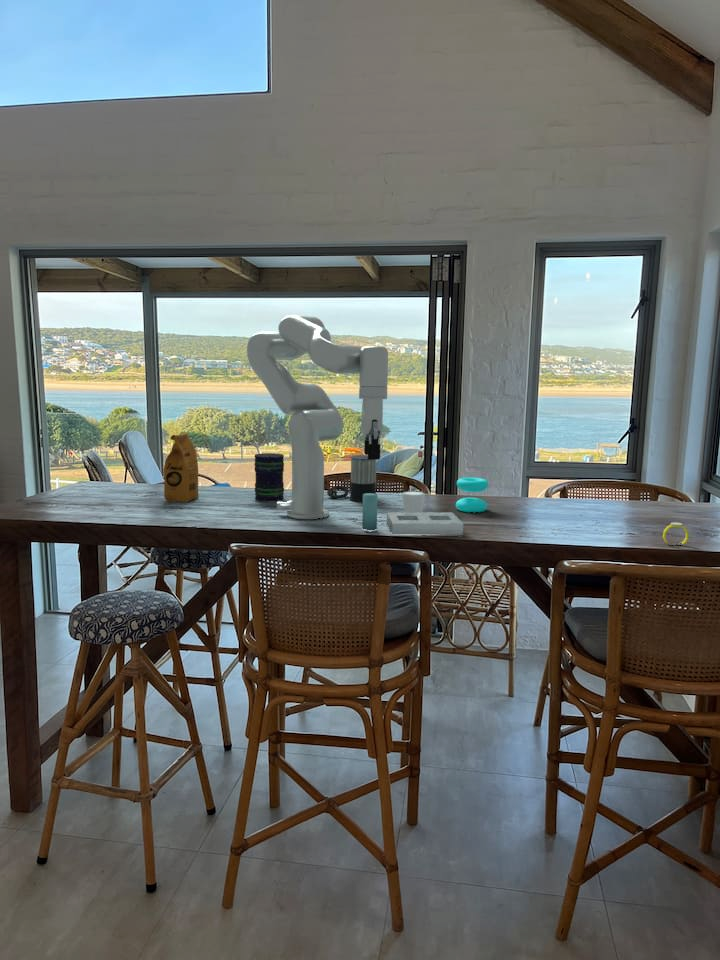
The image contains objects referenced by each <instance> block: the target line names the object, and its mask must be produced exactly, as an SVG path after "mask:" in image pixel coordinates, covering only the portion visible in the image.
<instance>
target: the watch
mask: <svg viewBox="0 0 720 960" xmlns="http://www.w3.org/2000/svg"><path fill="white" fill-rule="evenodd" d="M671 528H683V530H684V532H685V537H684V539H683V541H681V542H680V543H682V544H684V545H685V544H687V542H688V541H689V537H690V535H689V531H688V529H687V528H686V527H685V526H684V525H683V523H681V522H670V524H669V525H667V526H666V527H665V528H664V530H663V532H662V538H663V541H664V543H665V544H667V543H669V542H668V540H667V537H666V536H667V532H668V531H669V530H670V529H671Z"/></svg>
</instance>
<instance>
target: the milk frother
mask: <svg viewBox="0 0 720 960" xmlns="http://www.w3.org/2000/svg"><path fill="white" fill-rule="evenodd" d="M376 488H377V460H369V459H368V455H365V454H362V455H361V454H360V455H359V454H357V455H351V456H350V490H349V489H348V488H346V487H345V486H342V485H335V486H332V487H329V489H328V490H327V491H326V492H327V493H326V494H327V495H328V496H329V498H333V499H343V498H346V497H347V496H348V495H349V500H350V501H353V502H356V501H357V503H363V494H366V493H373V494H377V491H376V490H377V489H376ZM337 490H340V491H343V492H344V493H343V494H338V491H337Z"/></svg>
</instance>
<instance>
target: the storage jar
mask: <svg viewBox="0 0 720 960" xmlns="http://www.w3.org/2000/svg"><path fill="white" fill-rule="evenodd" d="M284 456H285V455H284V454H282V453H275V452H274V453H273V452H271V453H270V452H269V453H267V452H266V453H257V454H254V472H255V482H254V496H255V497H254V500H255V501H257V500H258V502H263V501H265V502H267V501H275V502H279V501H278V500H281V501H283V500H284V495H285V493H284V492H285V487H284V485H285V483H284V471H285V469H284V468H285V462H284ZM267 503H268V502H267Z"/></svg>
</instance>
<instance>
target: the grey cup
mask: <svg viewBox="0 0 720 960" xmlns="http://www.w3.org/2000/svg"><path fill="white" fill-rule="evenodd" d="M425 496H426V493H425V492H422V491H415V490H411V491H404V492H402V504H403V505H402V507H403V512H424V506H425V498H426V497H425Z"/></svg>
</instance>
